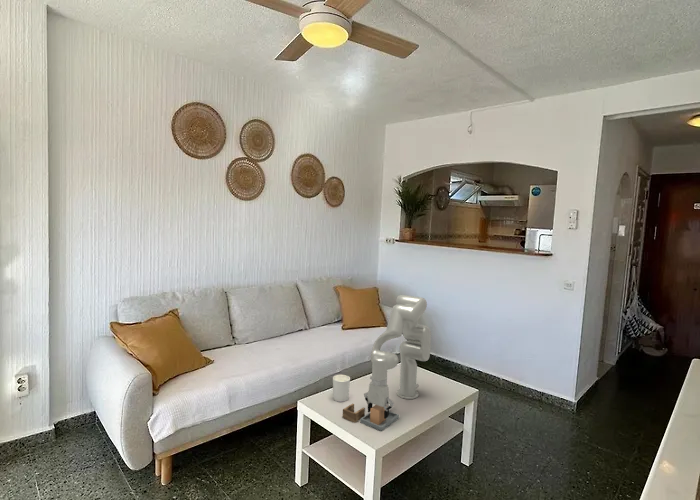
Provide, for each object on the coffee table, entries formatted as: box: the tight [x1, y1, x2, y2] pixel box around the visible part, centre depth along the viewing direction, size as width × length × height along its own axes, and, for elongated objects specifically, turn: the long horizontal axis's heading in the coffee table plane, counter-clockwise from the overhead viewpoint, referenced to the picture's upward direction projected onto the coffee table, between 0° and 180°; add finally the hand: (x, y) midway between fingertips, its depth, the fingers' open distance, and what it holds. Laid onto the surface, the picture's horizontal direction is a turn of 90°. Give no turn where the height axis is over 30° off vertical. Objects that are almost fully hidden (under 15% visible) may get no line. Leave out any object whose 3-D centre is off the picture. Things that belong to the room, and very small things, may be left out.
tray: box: [359, 410, 400, 432], centre depth 197 cm, size 17×13×2 cm
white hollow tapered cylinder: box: [332, 374, 351, 403], centre depth 220 cm, size 10×10×12 cm
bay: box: [342, 403, 366, 424], centre depth 200 cm, size 8×8×4 cm
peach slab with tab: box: [369, 404, 387, 425], centre depth 197 cm, size 11×5×7 cm, turn 143°
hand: (378, 414), depth 196 cm, fingers open, 9 cm apart
